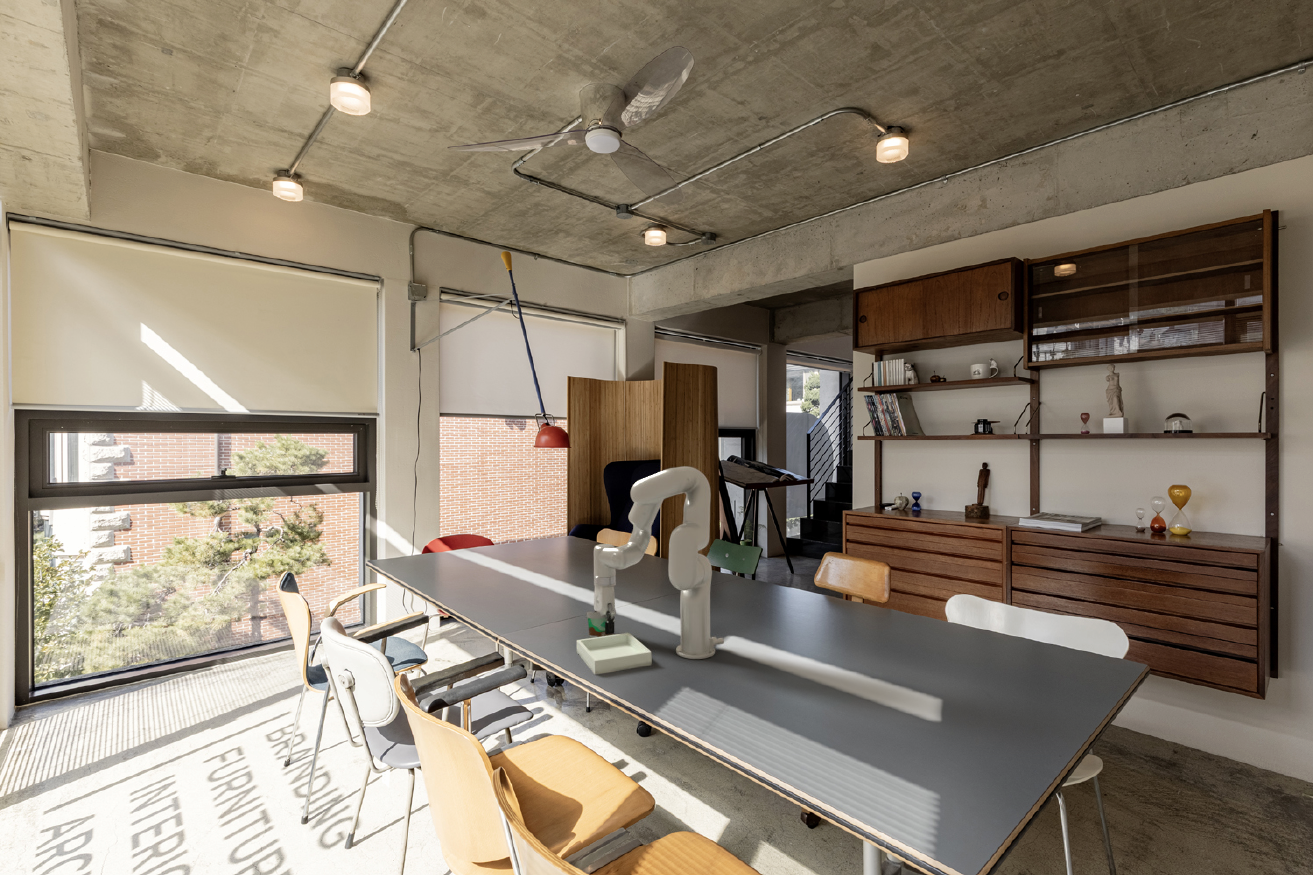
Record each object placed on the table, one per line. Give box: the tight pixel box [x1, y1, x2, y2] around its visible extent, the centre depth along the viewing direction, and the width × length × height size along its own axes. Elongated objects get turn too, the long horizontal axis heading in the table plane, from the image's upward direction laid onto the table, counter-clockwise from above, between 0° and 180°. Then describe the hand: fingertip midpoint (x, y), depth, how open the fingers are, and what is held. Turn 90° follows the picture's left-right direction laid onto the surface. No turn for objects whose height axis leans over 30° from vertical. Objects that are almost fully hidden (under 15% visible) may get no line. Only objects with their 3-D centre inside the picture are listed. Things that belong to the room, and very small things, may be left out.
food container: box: [586, 608, 617, 638], centre depth 210 cm, size 12×6×10 cm, turn 143°
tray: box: [576, 632, 653, 676], centre depth 190 cm, size 18×20×4 cm
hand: (605, 629), depth 210 cm, fingers open, 9 cm apart
